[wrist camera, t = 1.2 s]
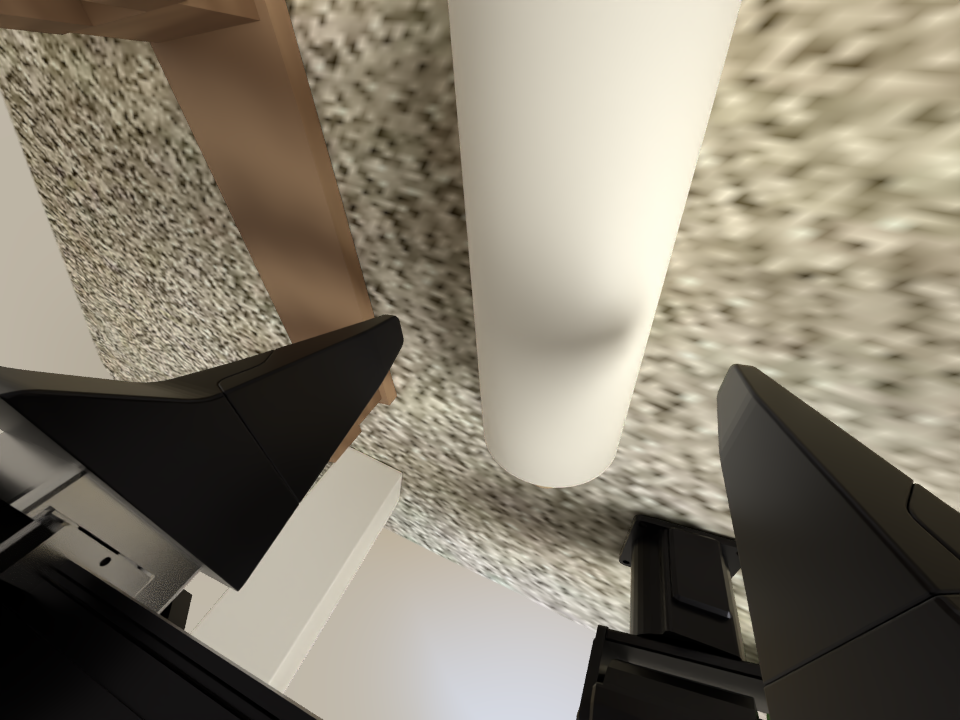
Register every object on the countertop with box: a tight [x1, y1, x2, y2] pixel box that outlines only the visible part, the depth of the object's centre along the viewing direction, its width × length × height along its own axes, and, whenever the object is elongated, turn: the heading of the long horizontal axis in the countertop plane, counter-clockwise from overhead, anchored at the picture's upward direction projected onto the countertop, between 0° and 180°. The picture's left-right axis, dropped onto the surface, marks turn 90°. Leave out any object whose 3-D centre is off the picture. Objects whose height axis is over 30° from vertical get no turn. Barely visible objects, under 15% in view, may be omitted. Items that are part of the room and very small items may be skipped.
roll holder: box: [0, 0, 397, 463], centre depth 17 cm, size 22×7×6 cm, turn 4°
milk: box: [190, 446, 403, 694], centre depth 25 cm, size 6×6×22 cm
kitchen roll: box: [448, 0, 742, 488], centre depth 12 cm, size 22×6×6 cm, turn 4°
